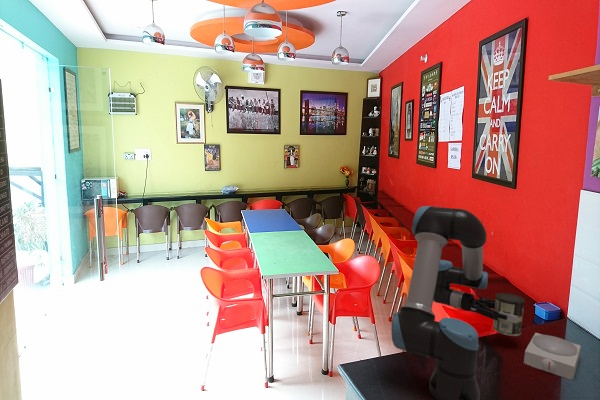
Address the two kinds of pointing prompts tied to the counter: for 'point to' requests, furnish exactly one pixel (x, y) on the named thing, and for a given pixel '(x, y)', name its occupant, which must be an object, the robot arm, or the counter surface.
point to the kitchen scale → (553, 355)
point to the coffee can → (509, 306)
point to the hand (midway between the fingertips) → (520, 315)
